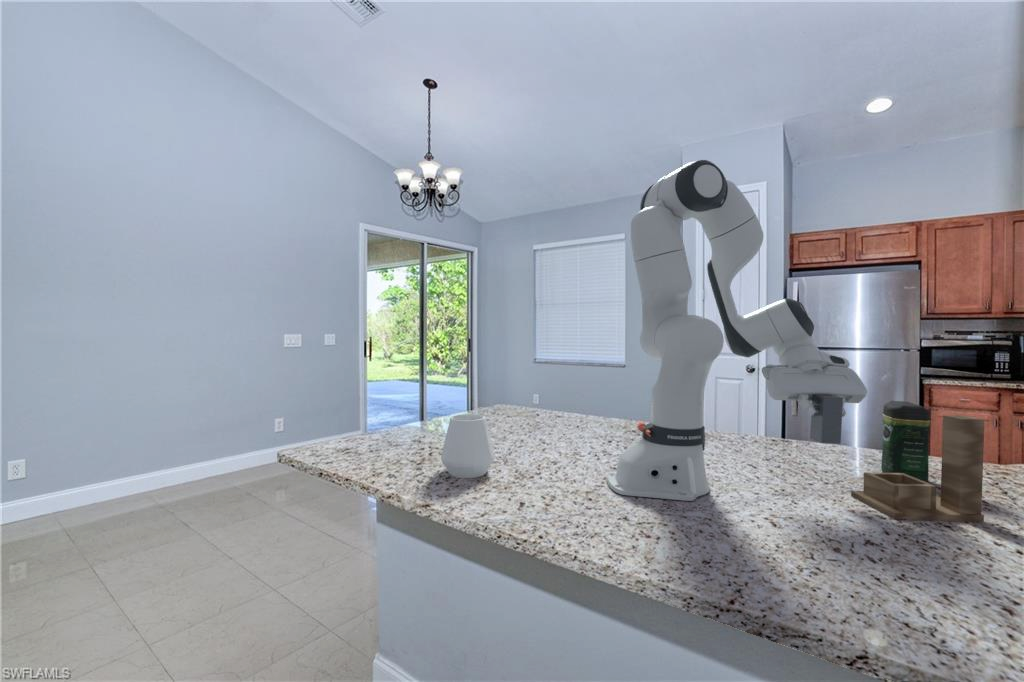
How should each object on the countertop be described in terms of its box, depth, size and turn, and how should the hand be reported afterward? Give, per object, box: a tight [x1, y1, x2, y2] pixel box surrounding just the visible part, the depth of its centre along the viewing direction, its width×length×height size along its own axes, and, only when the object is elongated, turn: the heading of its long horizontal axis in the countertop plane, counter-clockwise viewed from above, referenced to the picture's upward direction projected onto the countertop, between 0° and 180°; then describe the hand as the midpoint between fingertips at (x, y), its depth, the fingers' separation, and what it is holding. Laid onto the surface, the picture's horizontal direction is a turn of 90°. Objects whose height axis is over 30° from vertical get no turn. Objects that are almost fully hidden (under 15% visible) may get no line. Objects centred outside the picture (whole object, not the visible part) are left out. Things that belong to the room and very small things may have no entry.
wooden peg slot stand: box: [850, 414, 986, 523], centre depth 91 cm, size 16×12×19 cm
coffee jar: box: [880, 400, 931, 483], centre depth 110 cm, size 10×8×19 cm
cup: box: [440, 413, 496, 479], centre depth 113 cm, size 13×13×14 cm
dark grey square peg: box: [809, 394, 843, 445], centre depth 100 cm, size 4×4×10 cm
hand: (828, 414), depth 99 cm, fingers closed on dark grey square peg, 4 cm apart
